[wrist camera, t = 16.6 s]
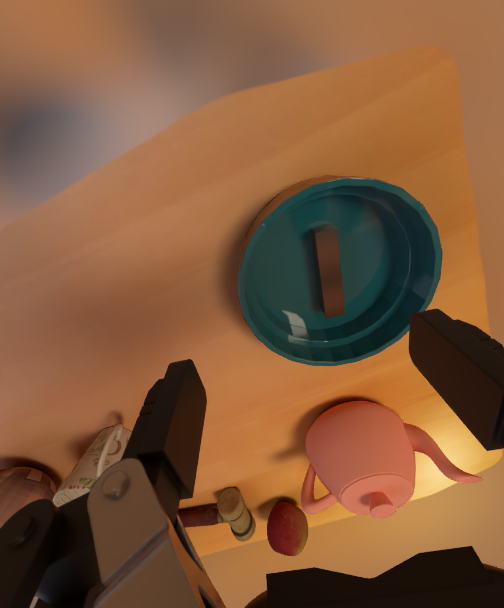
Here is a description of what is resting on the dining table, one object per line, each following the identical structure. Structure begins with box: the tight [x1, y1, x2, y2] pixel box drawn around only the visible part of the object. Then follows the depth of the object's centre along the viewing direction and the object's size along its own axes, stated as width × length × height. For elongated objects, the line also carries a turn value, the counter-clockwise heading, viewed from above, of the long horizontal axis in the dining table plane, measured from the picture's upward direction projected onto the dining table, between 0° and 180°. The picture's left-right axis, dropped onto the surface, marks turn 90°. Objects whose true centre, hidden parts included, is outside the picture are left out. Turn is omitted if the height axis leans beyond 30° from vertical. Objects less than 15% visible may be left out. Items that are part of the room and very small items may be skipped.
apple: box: [267, 502, 308, 556], centre depth 50 cm, size 8×8×8 cm
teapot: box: [301, 401, 483, 518], centre depth 38 cm, size 22×15×12 cm
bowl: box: [238, 175, 443, 366], centre depth 29 cm, size 19×19×6 cm
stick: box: [310, 224, 345, 318], centre depth 30 cm, size 10×2×2 cm, turn 13°
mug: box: [53, 423, 132, 507], centre depth 39 cm, size 8×13×10 cm, turn 161°
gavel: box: [177, 487, 256, 541], centre depth 53 cm, size 21×5×10 cm
